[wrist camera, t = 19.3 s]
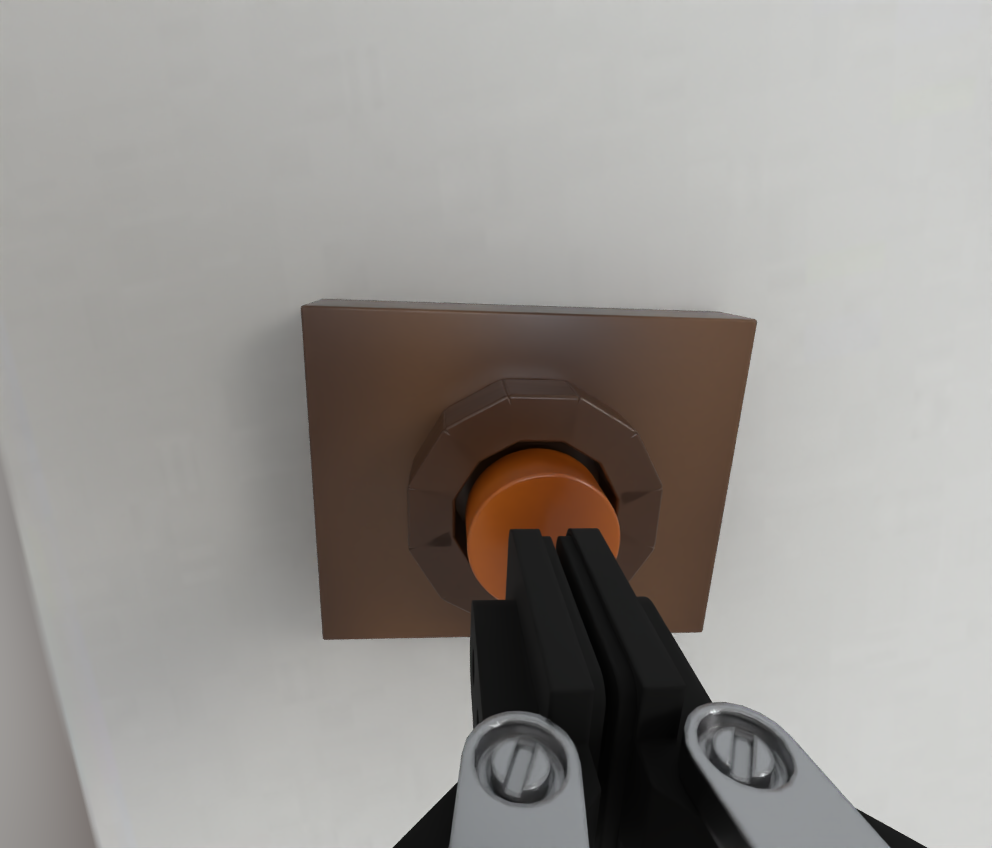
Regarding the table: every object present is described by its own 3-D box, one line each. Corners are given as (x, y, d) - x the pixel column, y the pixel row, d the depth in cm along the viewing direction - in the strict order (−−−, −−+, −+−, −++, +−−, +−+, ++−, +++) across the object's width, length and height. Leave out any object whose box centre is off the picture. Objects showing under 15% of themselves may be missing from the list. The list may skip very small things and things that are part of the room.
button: (463, 572, 15) (465, 613, 13) (466, 446, 14) (468, 472, 12) (595, 571, 15) (613, 611, 13) (608, 447, 14) (629, 473, 12)
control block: (336, 597, 19) (307, 685, 15) (320, 298, 16) (277, 312, 12) (676, 592, 20) (730, 674, 16) (720, 311, 17) (799, 327, 13)
